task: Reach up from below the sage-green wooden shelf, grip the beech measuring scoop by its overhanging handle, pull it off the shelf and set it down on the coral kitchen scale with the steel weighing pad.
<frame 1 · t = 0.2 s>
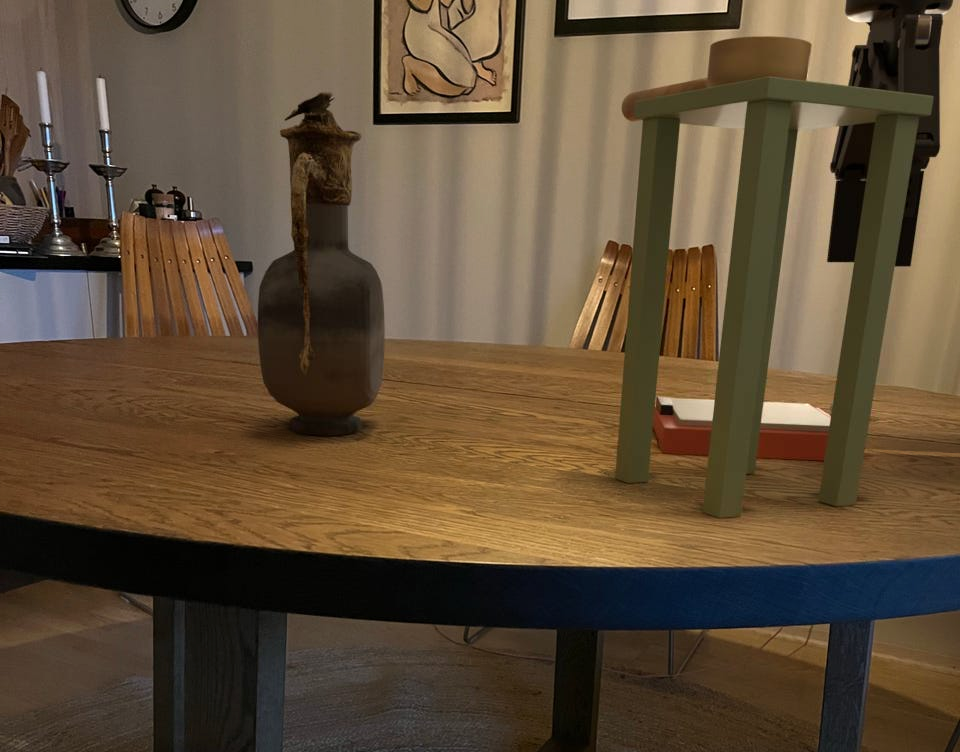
hand: (865, 264, 83), 17 cm above the table, tool pointing down, fingers open, 13 cm apart
rook chess piece: (846, 423, 119), on the table
scoop: (754, 102, 74), point 28 cm above the table, touching shelf stand
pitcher: (323, 434, 102), on the table
scale: (744, 440, 105), on the table
shelf stand: (711, 484, 84), on the table
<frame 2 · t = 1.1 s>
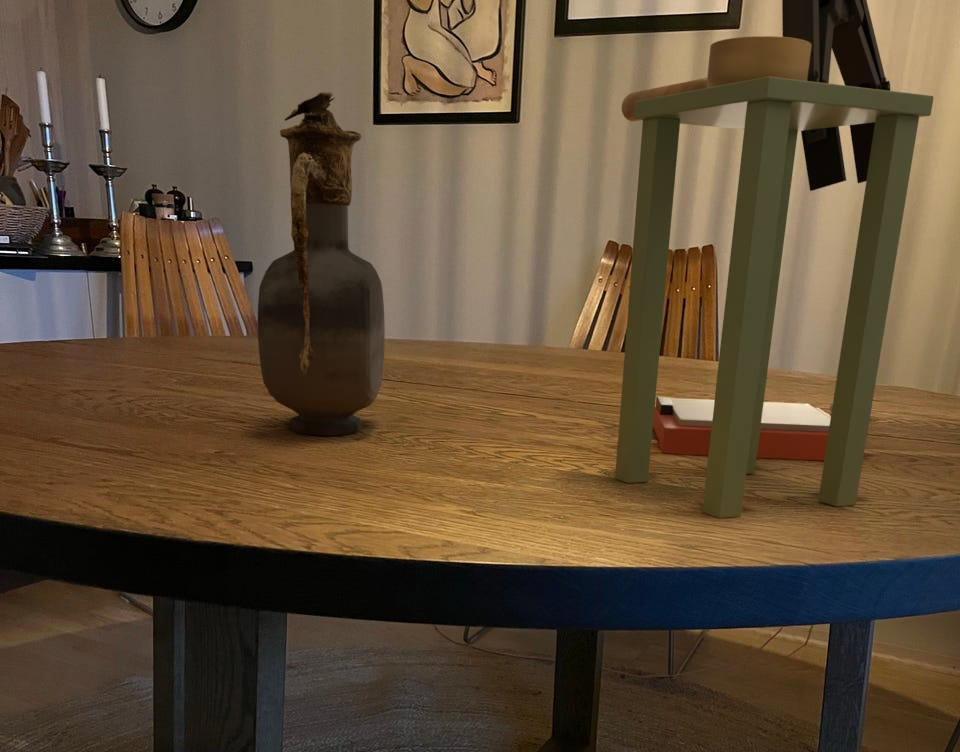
hand: (852, 182, 88), 24 cm above the table, tool tilted 15°, fingers open, 12 cm apart
nothing on the table moved.
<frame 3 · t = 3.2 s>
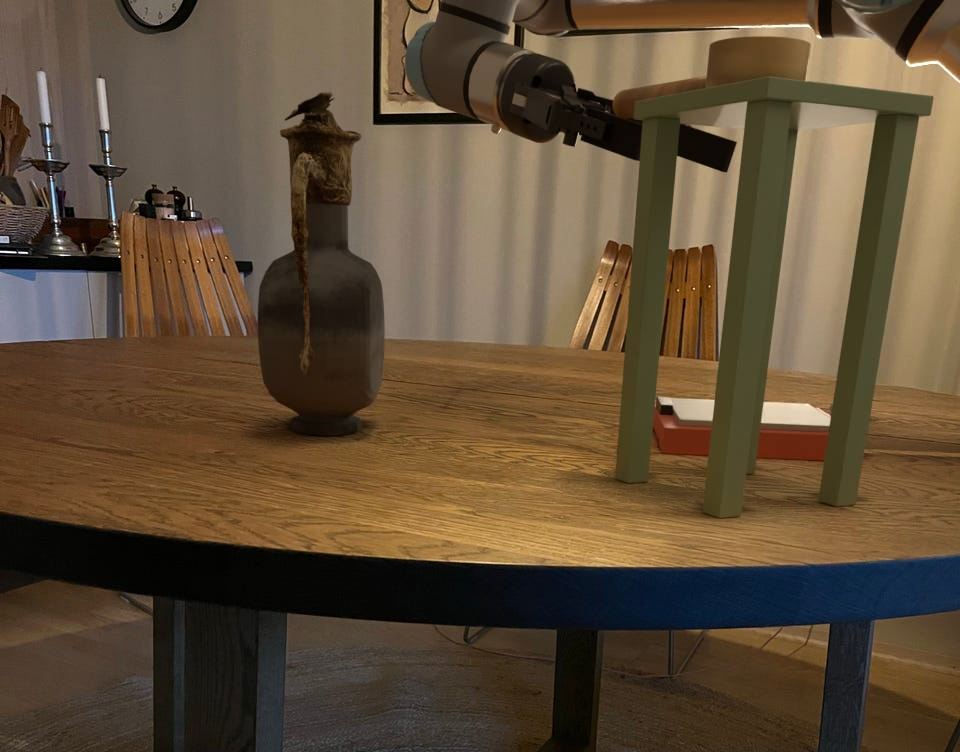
hand: (688, 150, 92), 26 cm above the table, tool tilted 75°, fingers open, 13 cm apart
scoop: (753, 102, 74), point 28 cm above the table, touching gripper, shelf stand
everything else where it was.
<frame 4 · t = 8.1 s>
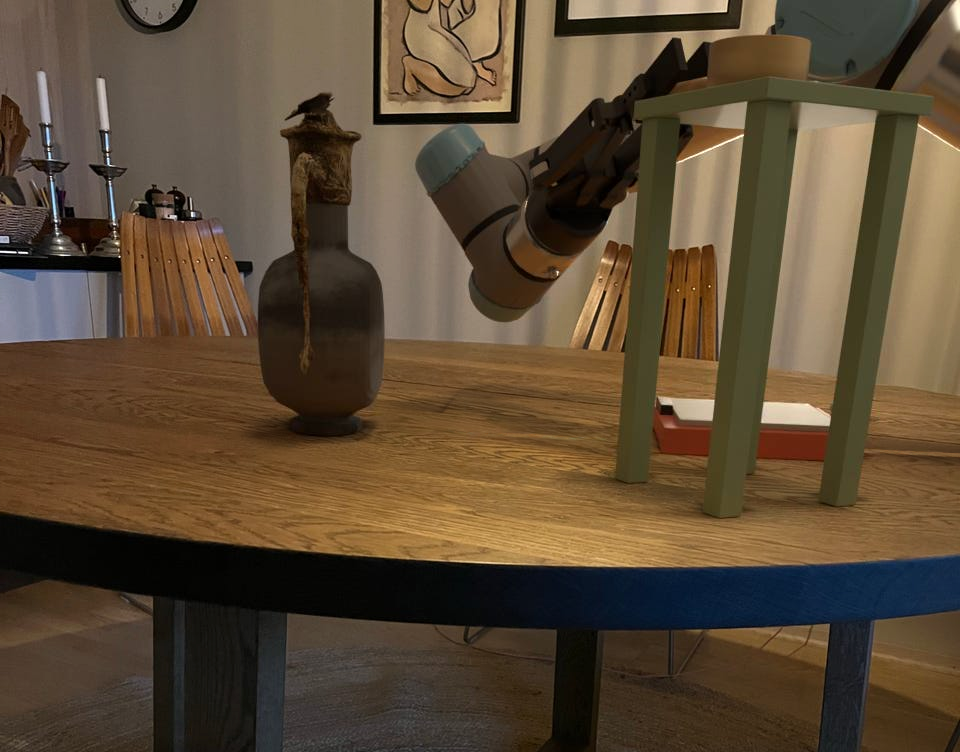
hand: (695, 56, 80), 32 cm above the table, tool pointing upward, fingers closed on scoop, 2 cm apart
scoop: (754, 100, 74), point 28 cm above the table, touching gripper
everything else where it was.
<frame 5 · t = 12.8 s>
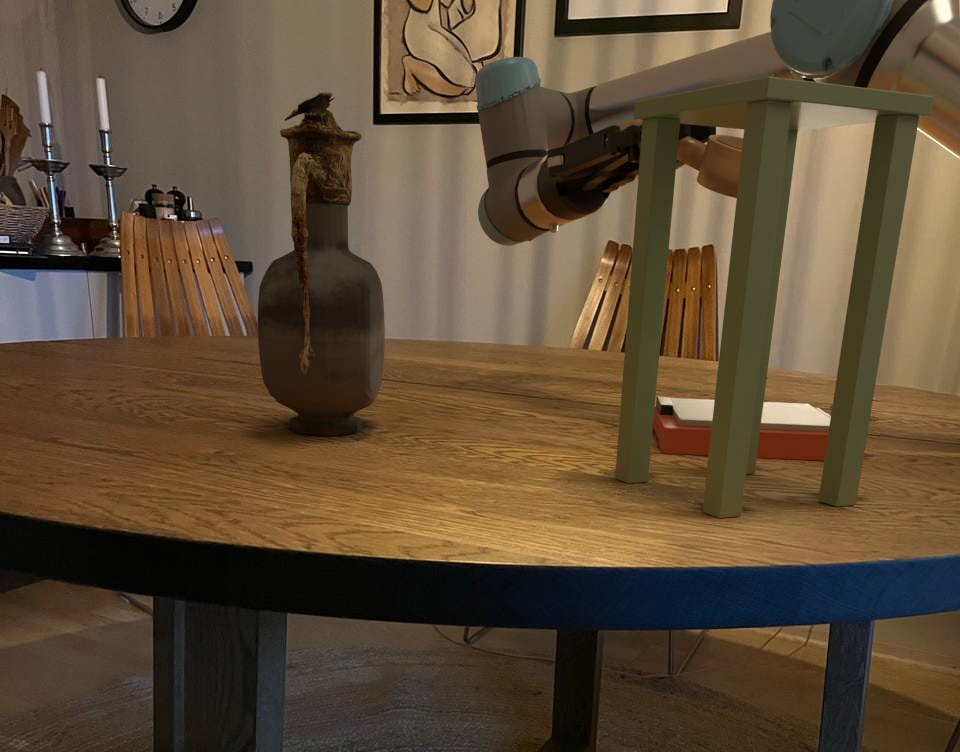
hand: (700, 120, 94), 29 cm above the table, tool horizontal, fingers closed on scoop, 2 cm apart
scoop: (735, 189, 91), point 23 cm above the table, tilted 18°, touching gripper
everything else where it was.
when the fingers open (12 cm above the table, at t = 17.7 s): scoop drops 2 cm, resting on scale.
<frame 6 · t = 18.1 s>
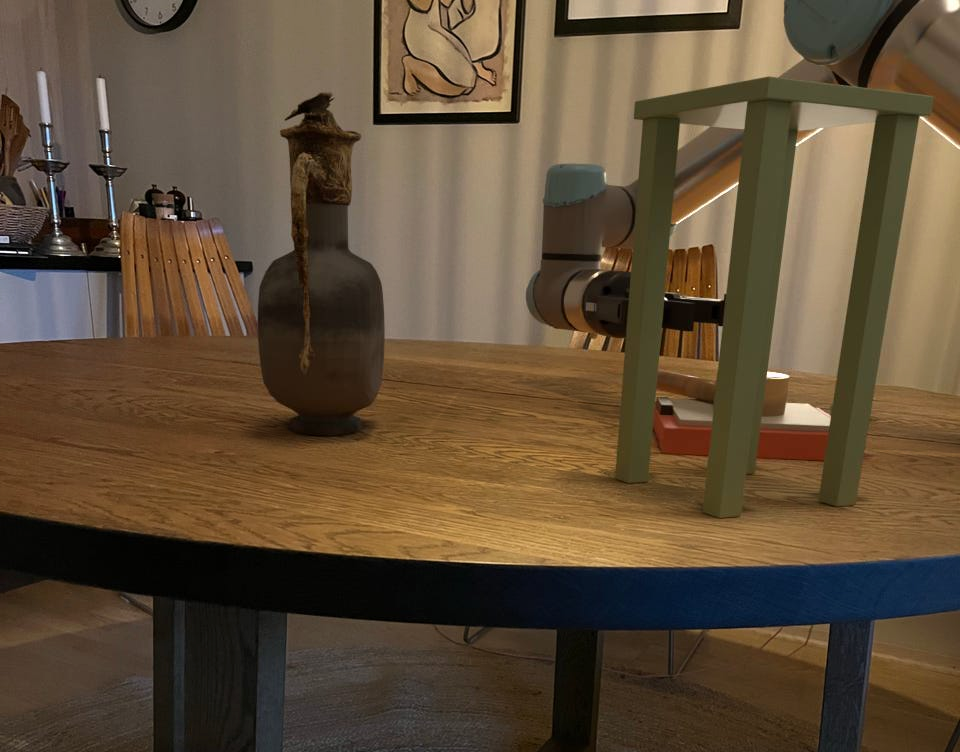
hand: (726, 317, 105), 12 cm above the table, tool horizontal, fingers open, 8 cm apart
scoop: (748, 411, 103), point 3 cm above the table, touching scale
everything else where it was.
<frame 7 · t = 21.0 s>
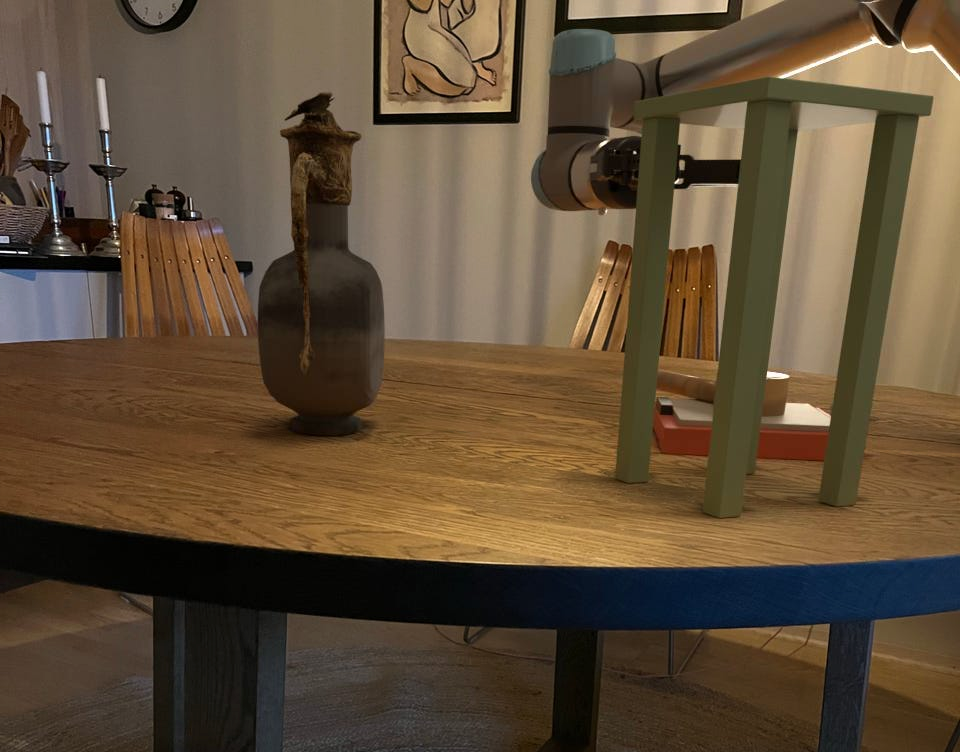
hand: (734, 164, 101), 26 cm above the table, tool horizontal, fingers open, 13 cm apart
nothing on the table moved.
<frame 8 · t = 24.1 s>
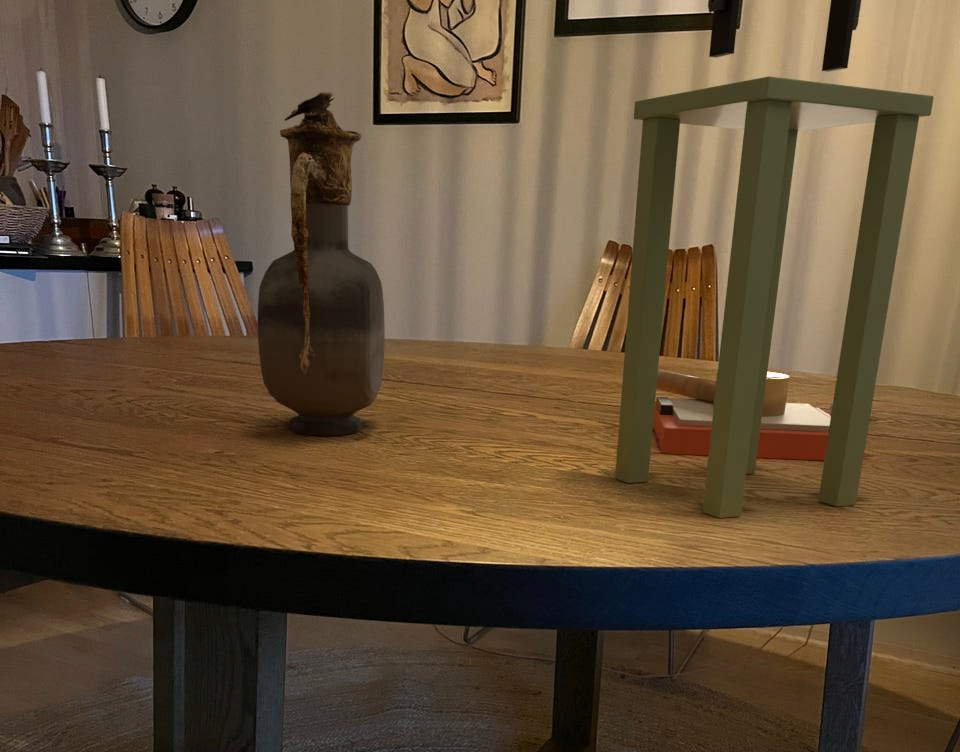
hand: (779, 63, 98), 35 cm above the table, tool pointing down, fingers open, 13 cm apart
nothing on the table moved.
at the end: scoop inside the target area on the scale (0.0 cm from its centre), point 3.0 cm above the scale's base; scoop touching scale; the gripper is holding nothing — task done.
